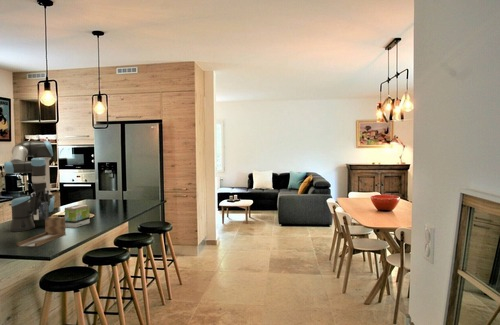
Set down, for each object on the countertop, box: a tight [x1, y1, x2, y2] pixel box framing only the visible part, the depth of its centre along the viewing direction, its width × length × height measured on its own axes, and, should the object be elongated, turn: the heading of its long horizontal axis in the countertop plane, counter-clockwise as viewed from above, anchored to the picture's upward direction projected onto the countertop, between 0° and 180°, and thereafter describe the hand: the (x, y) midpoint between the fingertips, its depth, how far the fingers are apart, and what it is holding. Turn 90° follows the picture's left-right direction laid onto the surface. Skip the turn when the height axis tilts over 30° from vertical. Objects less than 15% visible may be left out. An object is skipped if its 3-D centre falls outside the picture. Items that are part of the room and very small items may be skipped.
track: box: [16, 216, 66, 248], centre depth 205 cm, size 13×26×12 cm, turn 175°
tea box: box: [64, 204, 91, 229], centre depth 243 cm, size 15×10×15 cm
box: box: [31, 202, 50, 221], centre depth 204 cm, size 8×6×11 cm
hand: (40, 218), depth 204 cm, fingers closed on box, 7 cm apart
